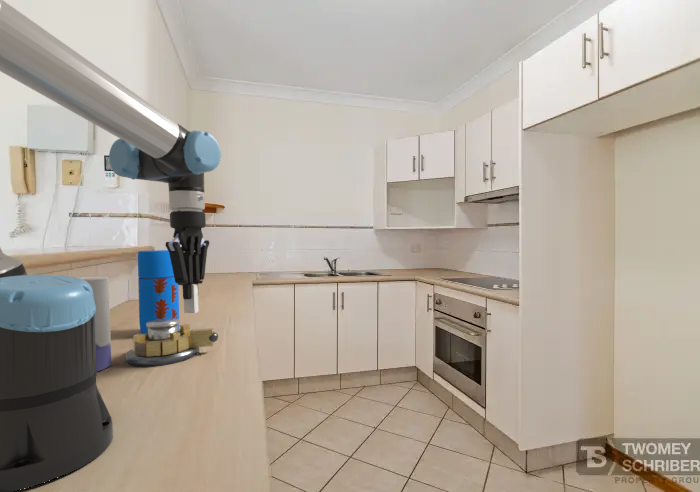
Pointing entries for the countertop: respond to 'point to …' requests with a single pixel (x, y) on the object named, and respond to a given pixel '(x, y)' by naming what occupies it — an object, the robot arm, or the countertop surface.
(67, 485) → the countertop surface
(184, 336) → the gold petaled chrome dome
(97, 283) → the container
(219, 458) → the countertop surface
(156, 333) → the base
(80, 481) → the countertop surface
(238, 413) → the countertop surface
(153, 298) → the thermos
